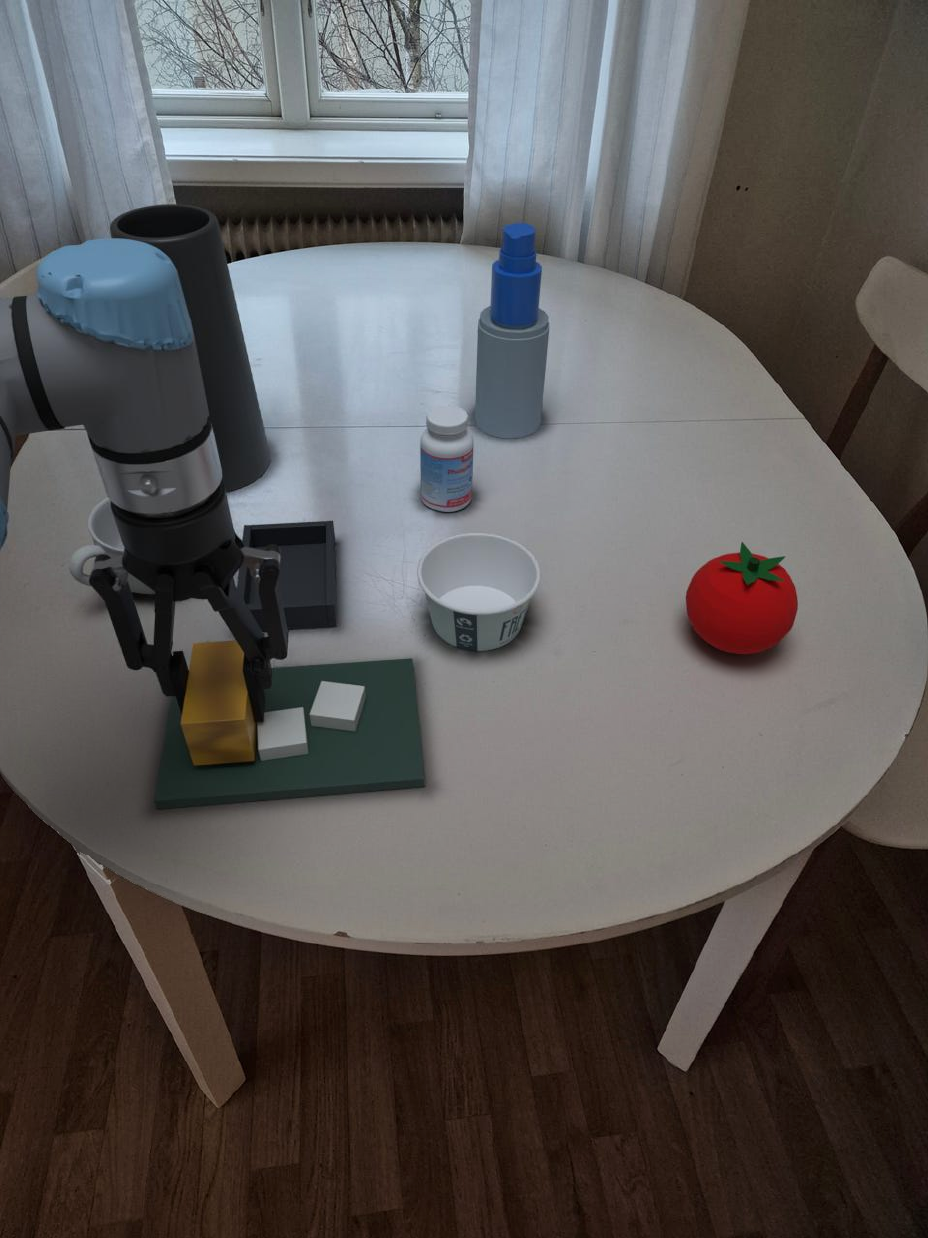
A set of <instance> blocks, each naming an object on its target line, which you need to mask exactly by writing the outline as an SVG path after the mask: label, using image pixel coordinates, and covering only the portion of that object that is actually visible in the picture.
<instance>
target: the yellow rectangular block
mask: <svg viewBox="0 0 928 1238" xmlns="http://www.w3.org/2000/svg"><path fill="white" fill-rule="evenodd" d="M243 660H244V652H243V651H242V649H241V647H240V646H239V644H238V643H237V641H236V640H224V641H207V642H193V643H192V647H191V655H190V661H189V667H188V670H189V673H188V680H187V686H186V692H185V699H184V705H183V711H182V718H181V727H182V730H183V733H184V736H185V739H186V742H187V746H188V749H189V752H190V755H191V758H192V761H193V765H194V766H196V765H209V764H222V763H235V762H249V761H254V760H255V750H256V736H257V722H256V723H255V722H254V717H253V713H252V708H251V704H250V699H249V695H248V691H247V688H246V683H245V679H244V675H243Z"/></svg>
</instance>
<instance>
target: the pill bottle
mask: <svg viewBox="0 0 928 1238" xmlns="http://www.w3.org/2000/svg"><path fill="white" fill-rule="evenodd" d="M425 419H426V422H425V425H426V429H425V430H424V431H423V432H422V434H421V436H420V441H419V443H420V444H419V447H420V448H419V451H420V452H419V454H420V457H419V459H420V461H419V462H420V463H419V464H420V465H419V466H420V498H421V501H422V503H423V504H424V505H425V506H426V507H428V508H429V509H433V510H434V511H438V512H444V513H451V512H456V511H460V510H462V509H464V508H465V507H467V506H468V505H469V504H470V503H471V500H472V497H473V475H474V473H473V472H474V437H473V435H472V433H471V431H470V430H469V429H468V426H469V415H468V412H467V411H466V410H465V409H464V408H462V407H459V406H457V405H452V404H451V405H450V404H442V405H441V404H440V405H437V406H434V407H431V408H430V409H429V410H428V411H427V413H426V418H425Z"/></svg>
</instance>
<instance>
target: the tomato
mask: <svg viewBox="0 0 928 1238" xmlns="http://www.w3.org/2000/svg"><path fill="white" fill-rule="evenodd" d="M739 549H740V550H739V552H732V553H726V554H722V555H720V556H717V557H713V558H712V559H710V560H707V562H705V564H703V565H702V566H701V567H699V568H698V570H697V571H696V572H695V573H694V574H693V575H692V578H691V579H690V583H689V585H688V587H687V589H686V592H685V608H686V616H687V618H688V621H689V622H690V624H691V626H692V628H693V630H694V631H695V633H696V634H697V635H698V636H699V637H700V638H702V640H703V641H705V642H706V643H707V644H708V645H710V646H712V647H714V648H715V649H717V650H719V651H722V652H726V653H728V654H736V655H748V654H757V653H760V652H764V651H766V650H769V649H771V648H773V647H774V646H776V645H777V644H779V643H780V642H781V641H782V640H783V639H784V638H785V637H787V635H788V634H789V633H790V631H791V630H792V628H793V626H794V624H795V621H796V617H797V613H798V610H799V600H798V599H799V598H798V593H797V588H796V586H795V584H794V582H793V580H792V577H791V576H790V574H789V572H788V571H787V570H786V568H784V567H783V566H782V565H781V563H782V561H783V560H784V559H785V558H786V556H776V557H770V558H769V557H766V556H764V555H760V554H756V553H753V552H751V551H750V549H749V548H748V547H747V545H746V544H745V543H744V541H741V543H740V548H739Z"/></svg>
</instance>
